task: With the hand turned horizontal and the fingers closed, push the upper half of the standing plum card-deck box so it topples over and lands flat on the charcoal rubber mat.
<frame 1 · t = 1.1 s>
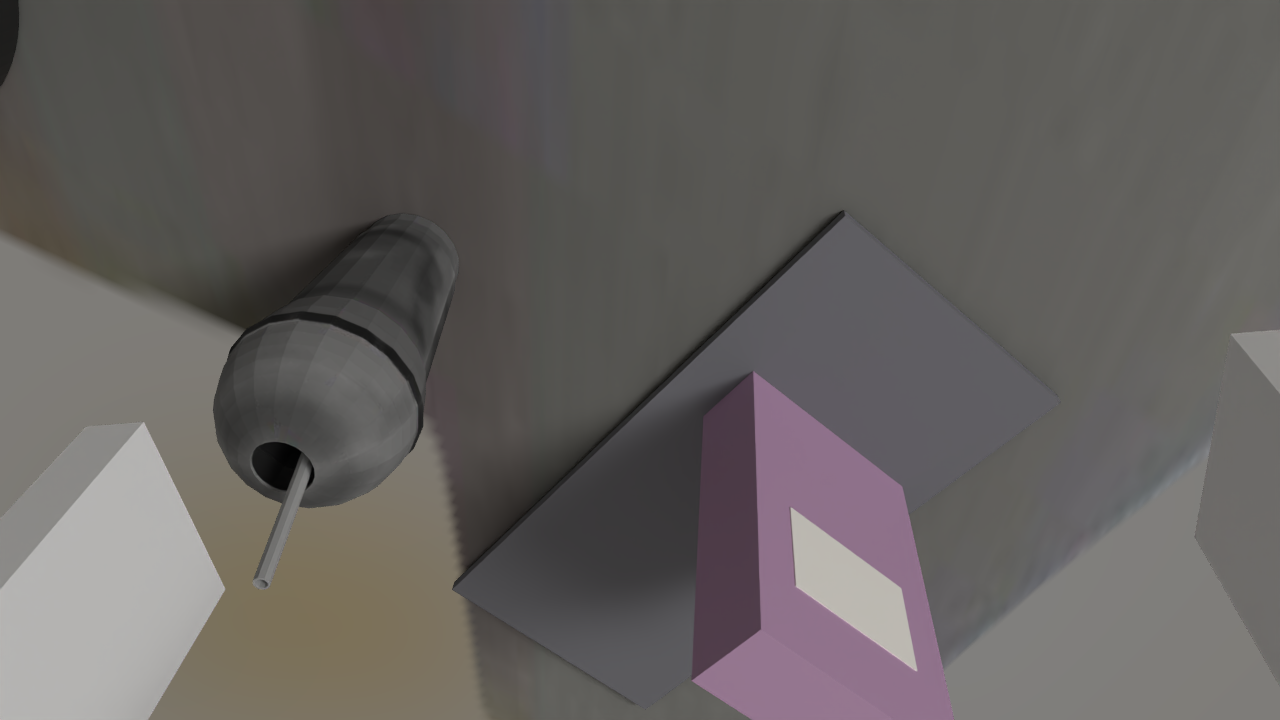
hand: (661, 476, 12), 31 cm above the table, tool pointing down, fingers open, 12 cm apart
deck box: (804, 451, 49), point 1 cm above the table, touching mat
beverage cup: (411, 257, 46), on the table
mat: (728, 497, 52), on the table
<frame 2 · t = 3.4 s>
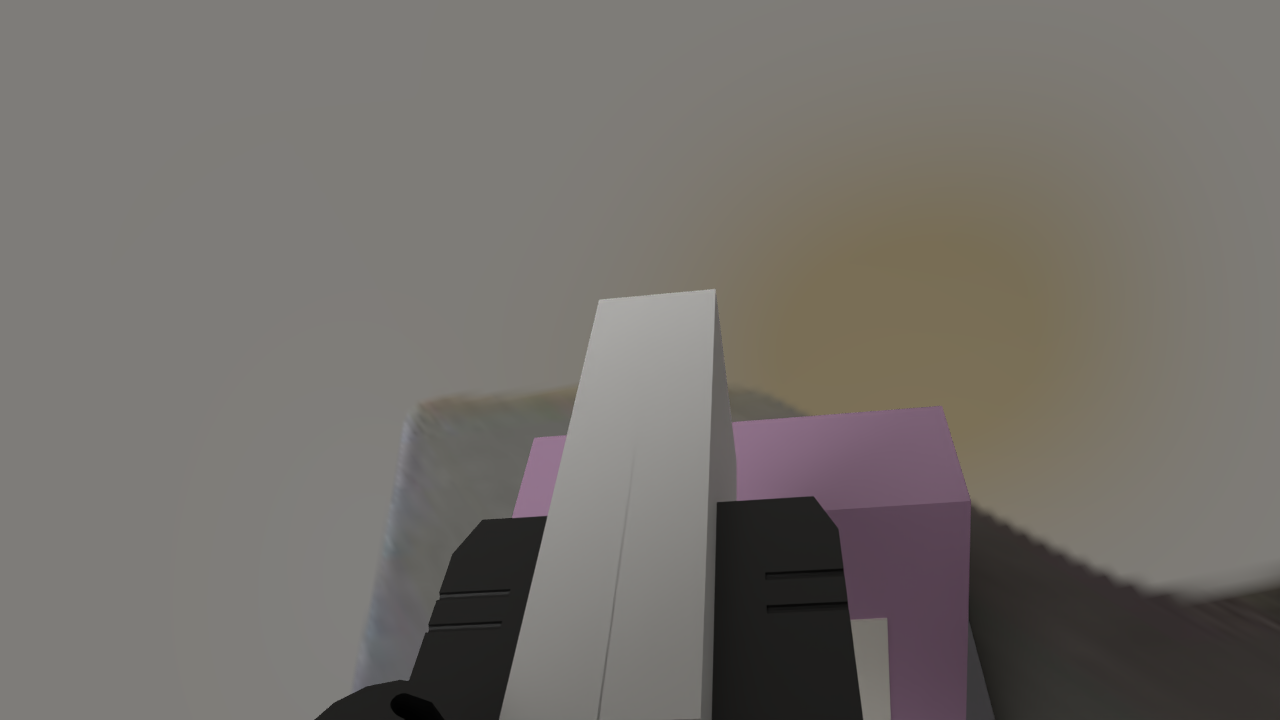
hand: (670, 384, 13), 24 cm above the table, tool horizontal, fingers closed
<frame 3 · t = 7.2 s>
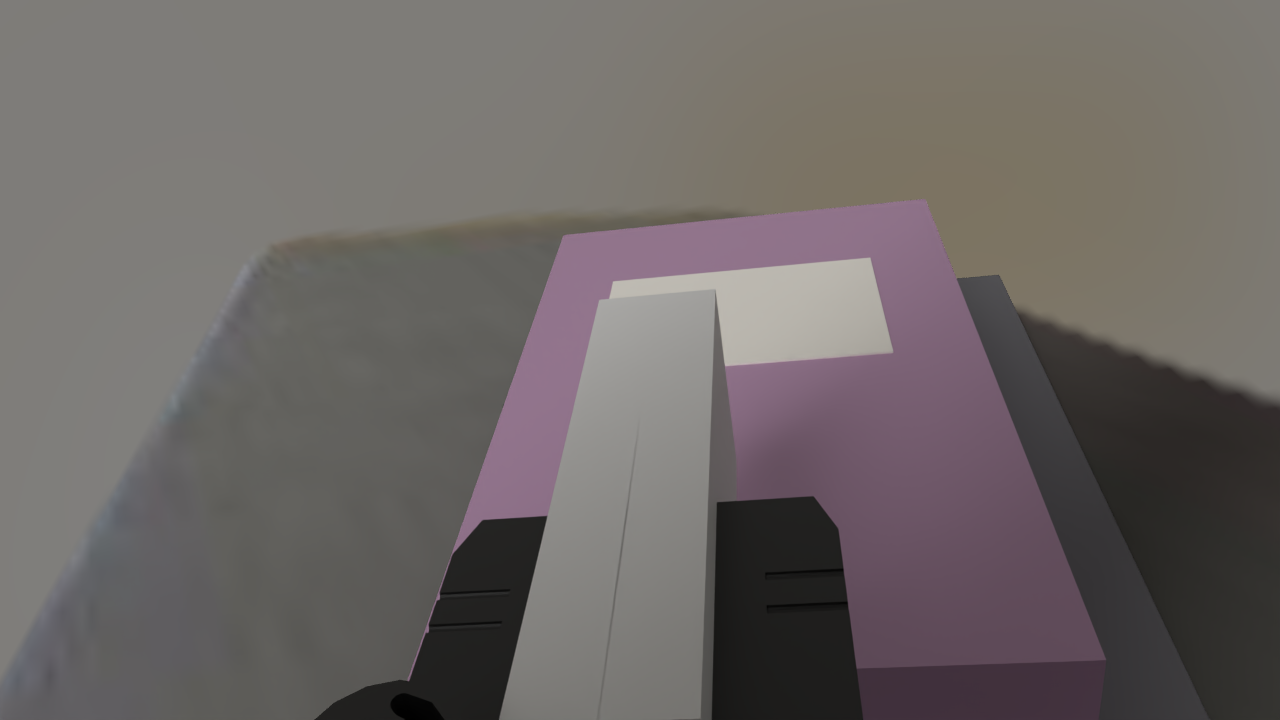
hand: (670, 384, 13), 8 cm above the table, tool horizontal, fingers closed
mat: (783, 700, 19), on the table
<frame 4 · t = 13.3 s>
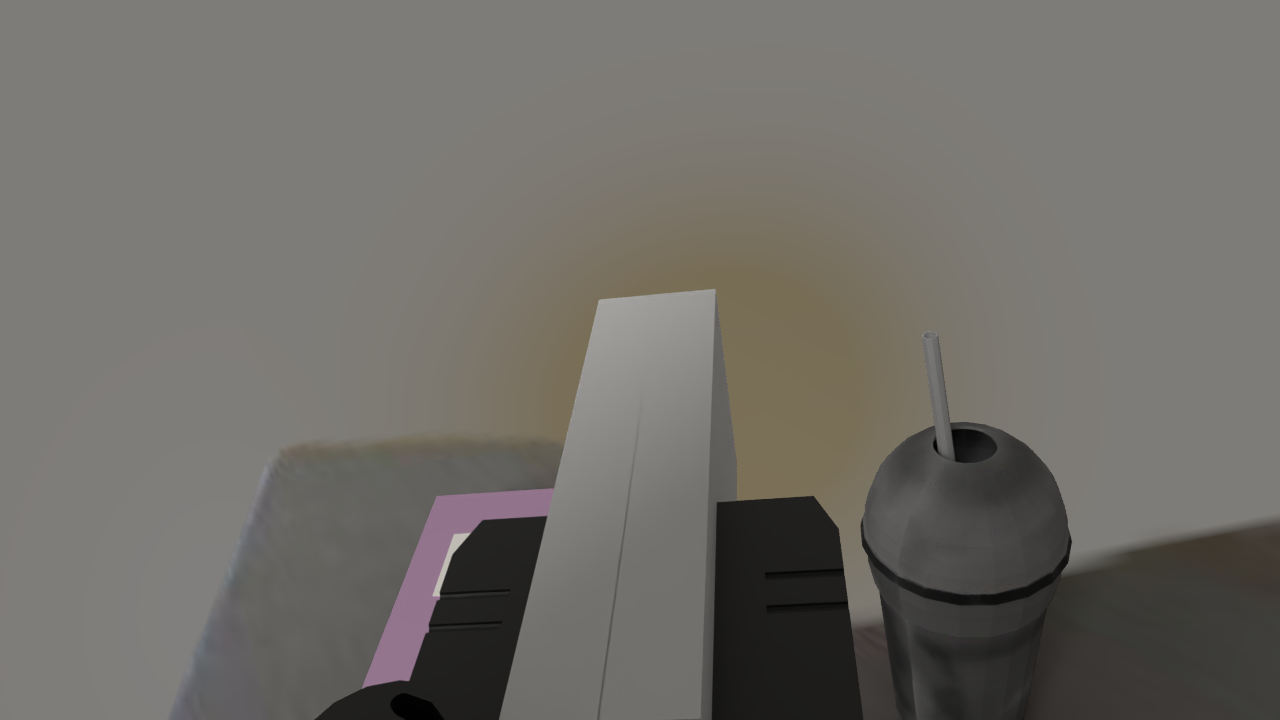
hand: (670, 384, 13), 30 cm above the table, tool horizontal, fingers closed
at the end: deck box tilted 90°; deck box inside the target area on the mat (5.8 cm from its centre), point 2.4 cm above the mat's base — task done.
